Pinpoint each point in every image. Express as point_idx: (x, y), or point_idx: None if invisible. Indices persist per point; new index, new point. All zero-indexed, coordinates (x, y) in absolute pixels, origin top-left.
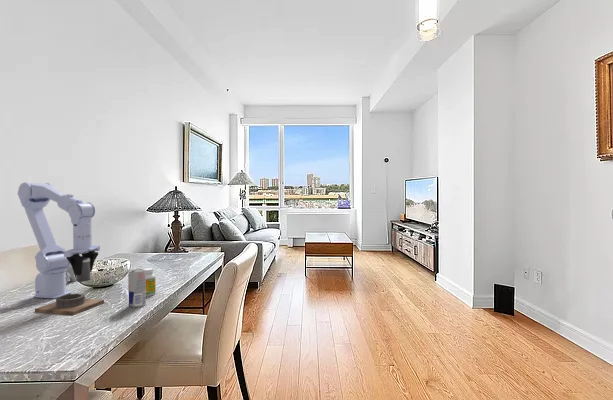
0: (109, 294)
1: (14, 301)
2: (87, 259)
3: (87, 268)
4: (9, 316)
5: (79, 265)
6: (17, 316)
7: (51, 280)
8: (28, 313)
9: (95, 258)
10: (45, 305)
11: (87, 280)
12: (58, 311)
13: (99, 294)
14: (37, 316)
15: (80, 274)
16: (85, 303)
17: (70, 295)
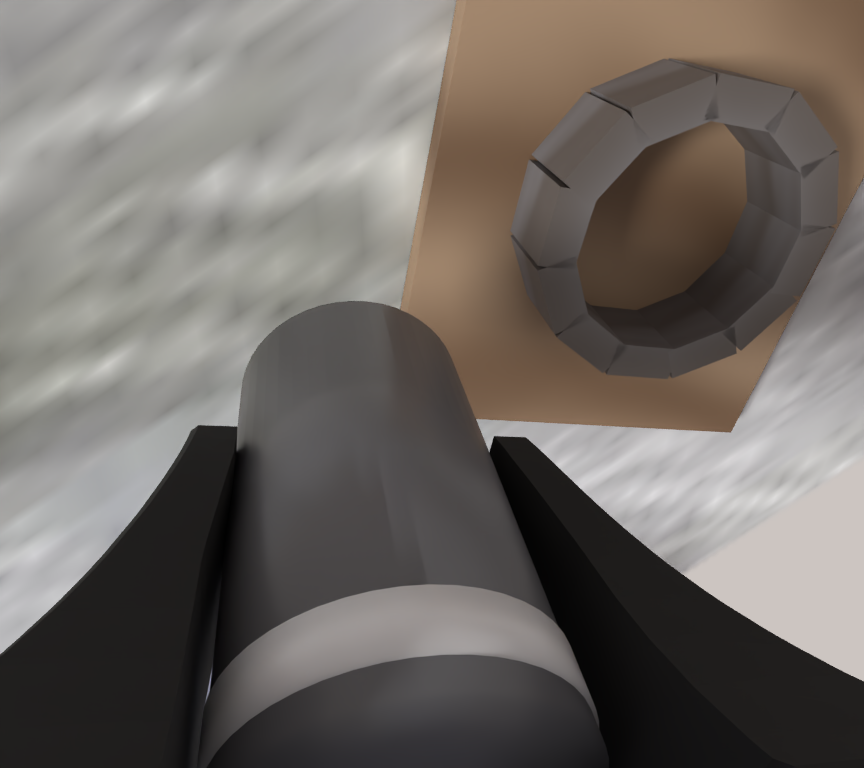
0: (24, 47)
1: None
2: (479, 663)
3: (426, 450)
4: (781, 494)
5: (666, 569)
6: (799, 448)
7: None
8: (743, 432)
9: (17, 662)
10: (644, 422)
11: (391, 308)
12: (849, 186)
13: (73, 211)
14: (852, 311)
15: (508, 441)
16: (646, 43)
17: (585, 311)
